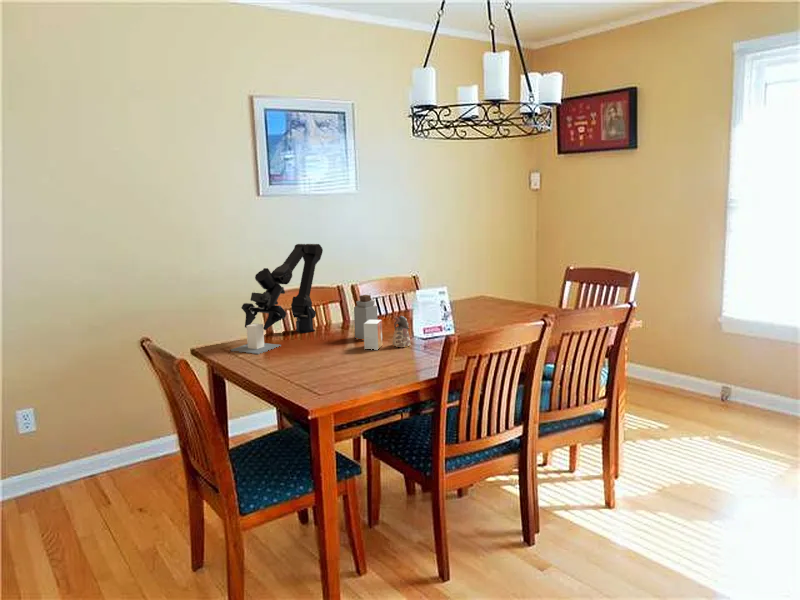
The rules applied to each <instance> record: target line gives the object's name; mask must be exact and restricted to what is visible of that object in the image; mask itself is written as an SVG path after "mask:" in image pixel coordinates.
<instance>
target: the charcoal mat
mask: <svg viewBox="0 0 800 600" xmlns="http://www.w3.org/2000/svg"><path fill="white" fill-rule="evenodd" d="M279 346H280V347H282V344H278V343H267V342H264V347H261V348H259V349H252V348H248V343H247V344H243V345H240V346H237V347H235V348H234V347H233V348H231V349H230V350H231V351H230V352H234V351H239V352H238V353H242V352H246V353H245V354H250V353H252V354H251V355H261V354H263V352H264V353H266V352H269V351H272V350H274V348H275V349H277V348H280V347H279ZM276 347H277V348H276ZM271 349H272V350H271ZM268 350H269V351H268ZM260 353H261V354H260Z"/></svg>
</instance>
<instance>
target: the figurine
mask: <svg viewBox="0 0 800 600" xmlns="http://www.w3.org/2000/svg"><path fill="white" fill-rule="evenodd" d="M393 318H394V319H395V321H394V324H393V328H394V331H393V337H392V346H393V345H394V346H396V347H405V346H409V345H411V346H412V343H411V338H410V333H409V330H410V327H409V324H410V323H409V322H408V319H407V317H405V316H403V315H400V316H396V315H395V316H394V317H393ZM397 325H398V326H397ZM394 346H393V347H394ZM396 347H395V348H396Z"/></svg>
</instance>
